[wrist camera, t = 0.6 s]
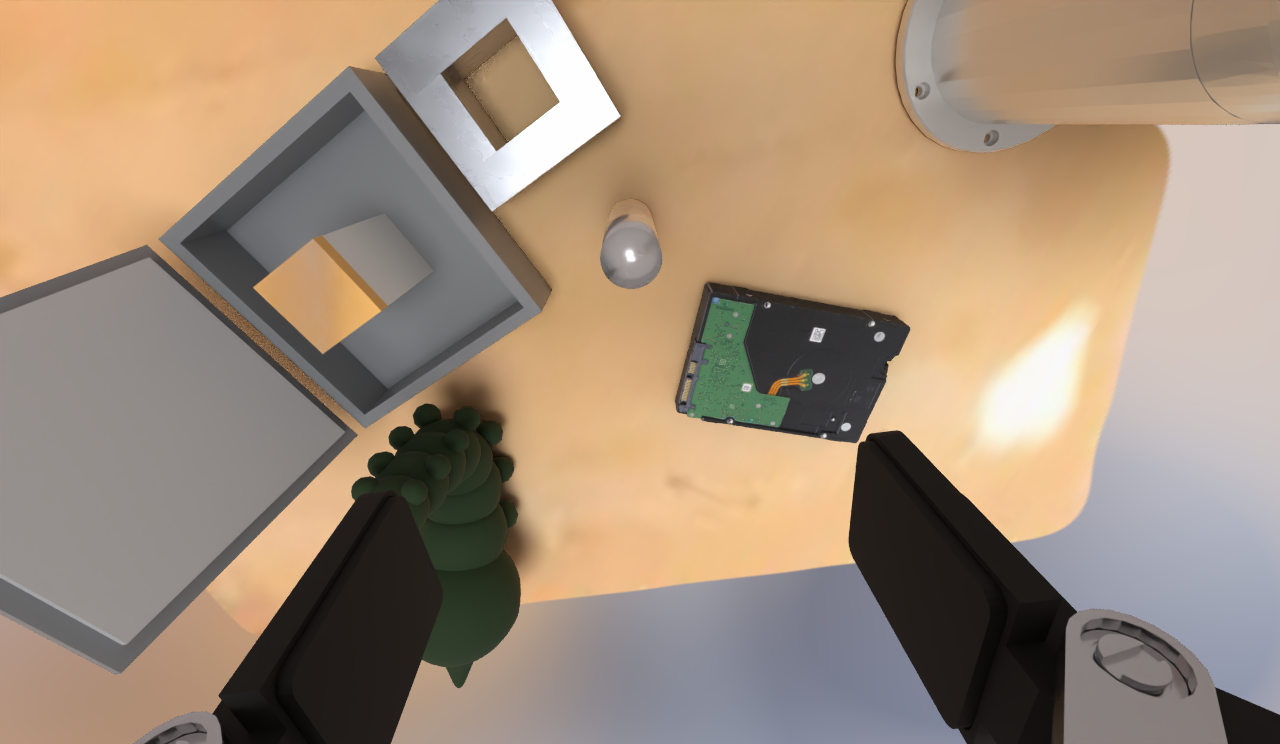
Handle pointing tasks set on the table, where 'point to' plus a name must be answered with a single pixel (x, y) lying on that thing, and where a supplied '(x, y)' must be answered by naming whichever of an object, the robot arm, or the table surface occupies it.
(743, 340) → the disk drive
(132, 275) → the lid
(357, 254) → the block
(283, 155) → the case
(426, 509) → the toy figurine
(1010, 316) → the table surface
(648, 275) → the rod
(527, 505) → the table surface
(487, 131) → the socket block
